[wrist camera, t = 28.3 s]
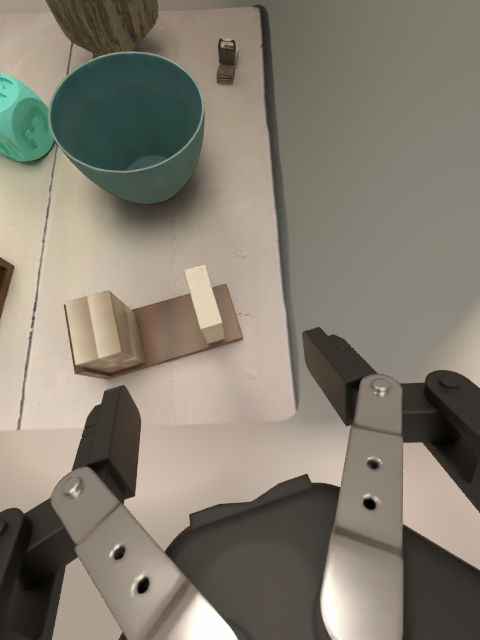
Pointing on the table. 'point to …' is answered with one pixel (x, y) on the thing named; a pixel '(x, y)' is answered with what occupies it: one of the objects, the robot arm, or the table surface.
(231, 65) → the strap clip
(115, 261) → the table surface
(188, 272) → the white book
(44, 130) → the decorative dice
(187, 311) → the brown wooden book rack
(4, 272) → the brown wooden bookend
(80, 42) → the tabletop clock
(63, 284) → the table surface
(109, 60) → the teal bowl
